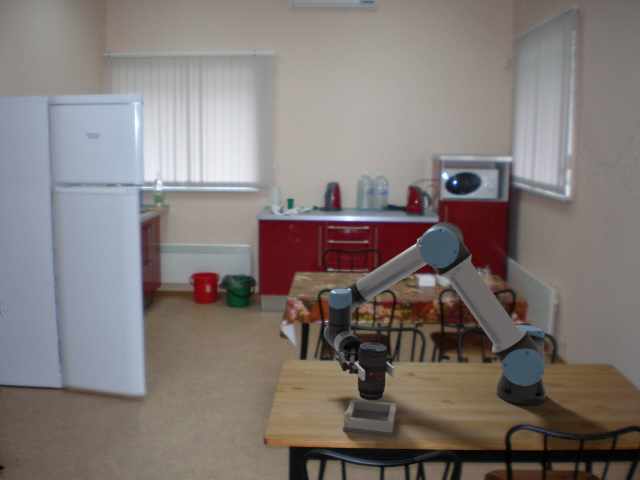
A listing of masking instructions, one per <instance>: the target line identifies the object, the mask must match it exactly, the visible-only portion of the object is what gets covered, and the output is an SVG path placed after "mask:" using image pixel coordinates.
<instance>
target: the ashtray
mask: <svg viewBox="0 0 640 480" xmlns="http://www.w3.org/2000/svg"><path fill="white" fill-rule="evenodd" d="M397 414H398V411H397V403H396V402H394V403H393V402H385V401H378V400H373V401H371V400H365V399H358V398H351V399H350V402H349V405H348V407H347V409H346V411H344V413H343V417H344V418H343V426H342V432H349V433H351V432H352V433H358V434H359V433H360V434H365V435H366V434H368V435H375V436H385V437H393V436H394V430H395V426H396V421H397V416H398V415H397Z"/></svg>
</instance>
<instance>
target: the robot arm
mask: <svg viewBox="0 0 640 480" xmlns="http://www.w3.org/2000/svg"><path fill="white" fill-rule="evenodd" d="M472 255H473V254H472V253H471V252H470V250H469V249H468V247H467V246H466V245H465V243H464V235H463V232H462V230H461V229H460V228H459V227H458V226H457V225H455V224H454V223H452V222H448V221H441V222H437V223H435V224H433V225H432V226H431V227H430V228H428V229H427V230H426V231H424V233H423V234H422V235H421V236H420V237H418V238H417V241H416V243H414V244H413V245H411V246H410V247H408V248H407V249H405V250H404V251H402V252H400V253H399V254H397V255H396V256H394V257H393V258H391V259H390V260H388V261H387V262H385V263H383V264H382V265H380V266H378V267H377V268H375V269H374V270H373V271H370V273H368V274H366V275H365V276H363V277H361V278H360V279H359V280H357V281H356V282H354V283H352V284H351V285H349V286H347V287H345V288H335V289H331V290H330V291H329V293H328V300H327V304H328V307H327V309H328V312H327V313H328V316H327V317H328V318H327V319H328V320H327V321H328V322H327V325H326V326H325V327H324V331H323V336H324V338H325V341H326V342H327V343H328V345H329V346H331V348H332V347H333V349H335V360H336V361H337V362H338V363H339V366H340V367H341V370H342V371H343V372H347V371H348V373H349V375H353V374H354V375H357V377H358V376H359V378H360V379H361V380H362V381H363V380H365V370H364V369H363V368H362V367H361V366H360V365H359V360H358V358H359V348H360V345H361V344H362V343H364V342H363V341H362V340H361V339H359V338H358V337H357V335H355V334H354V333H352V332H351V331H352V330H351V329H352V326H351V325H352V313H353V312H354V311H355V310H357V308H359V307H360V306H362V305H363V304H364V303H367V302H368V301H369V300H371V299H373V298H374V297H375V296H378V295H379V294H380V293H382V292H385V291H386V290H387V289H389V288H390V287H392V286H393V285H395V284H397V283H398V282H400V281H402V280H403V279H405V278H406V277H407V278H408V276H410V275H412V274H413V273H415V272H416V271H418V270H419V269H421V268H423V267H425V266H426V265H429V266H430V267H432V268H433V270H434V271H435V272H436V273H437V275H438V276H439V277H440V278H445V279H447V280H448V282H449V283H450V285H451V287H453V289H454V290H455V292H456V293H457V295H458V296H459V297H460V299H461V300H462V301H463V303H464V305H465V306H466V307H467V309H468V310H469V312H470V313H471V314H472V316H473V317H474V318H475V321H477V323H478V324H479V326H480V327H481V328H482V330H483V331H484V333H485V334H486V336H487V337H488V338H489V340H490V341H491V343H492V348H491V351H492V353H493V354H494V355H495V357H496V358H497V361H499V362H500V365H501V369H502V372H501V374H500V377H499V378H498V382H497V384H496V391H495V392H496V395H497V396H498V397H499V398H500V399H502V400H504V401H506V402H509V403H512V404H516V405H521V406H522V405H523V406H536V405H541V404H543V403H544V402H545V401H546V395H547V394H546V393H547V392H546V389H545V384H544V381H543V376H544V374H545V372H546V359H545V350H544V349H545V347H544V346H545V339H546V336H545V331H544V329H542V328H540V327H538V326H532V325H527V324H526V325H525V324H524V325H523V324H516V323H514V321H513V319H512V318H511V317H510V315H509V314H508V312H507V311H506V310H505V308H504V307H503V305H502V304H501V302H500V301H499V300H498V298H497V296H496V295H495V294H494V293H493V291H492V290H491V288H490V287H489V285H488V284H487V283H486V281H485V280H484V279H483V277H482V276H481V274H480V273H479V272H478V270H477V269H476V267H475V266H474V265H473V263H472ZM348 362H349V363H348ZM395 370H396V369H395V367H394V366H393V357H392V356H390V355H389V354H387V364H386V373H387V374H388V376H390V377H391V378H395Z"/></svg>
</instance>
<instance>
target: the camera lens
mask: <svg viewBox="0 0 640 480" xmlns="http://www.w3.org/2000/svg"><path fill="white" fill-rule="evenodd" d="M387 355H388V348H387V346H386V345H384V344H382V343H379V342H371V341H369V342H363V343H362V344H361V345H360V348H359V358H358V360H359V361H358V364H359V365H360V366H361V367H362V368H363V369H364V370H365V380H363V381H362V380H361V379H360V378H359V376H358V375H357V390H358V393H359V394H358V395H359V397H360V398H362V400H367V401H379V400H381V399H383V396H384V392H385V389H386V373H387V372H386V364H387Z"/></svg>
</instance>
